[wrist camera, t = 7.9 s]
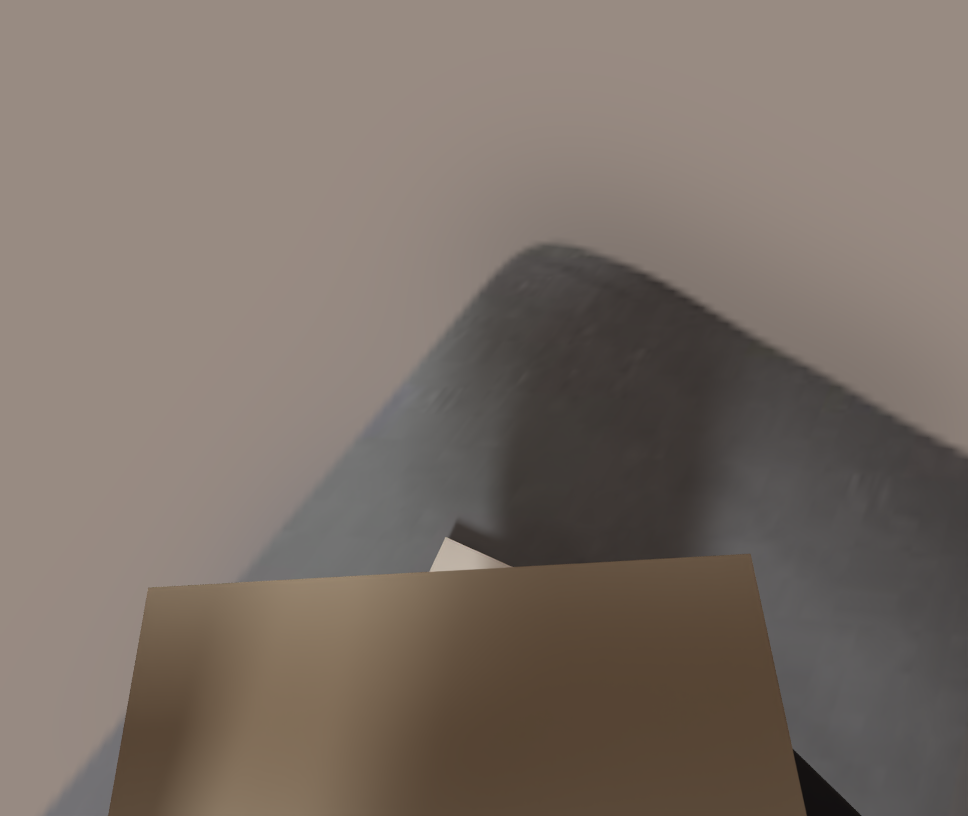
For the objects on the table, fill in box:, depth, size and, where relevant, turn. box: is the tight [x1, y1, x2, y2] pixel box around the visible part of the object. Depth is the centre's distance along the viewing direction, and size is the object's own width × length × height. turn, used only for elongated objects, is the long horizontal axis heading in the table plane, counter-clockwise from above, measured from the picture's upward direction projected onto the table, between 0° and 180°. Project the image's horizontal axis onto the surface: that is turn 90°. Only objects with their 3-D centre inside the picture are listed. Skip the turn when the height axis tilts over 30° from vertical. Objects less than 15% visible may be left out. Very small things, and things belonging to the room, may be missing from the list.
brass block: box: [108, 554, 807, 816], centre depth 9 cm, size 6×6×10 cm
